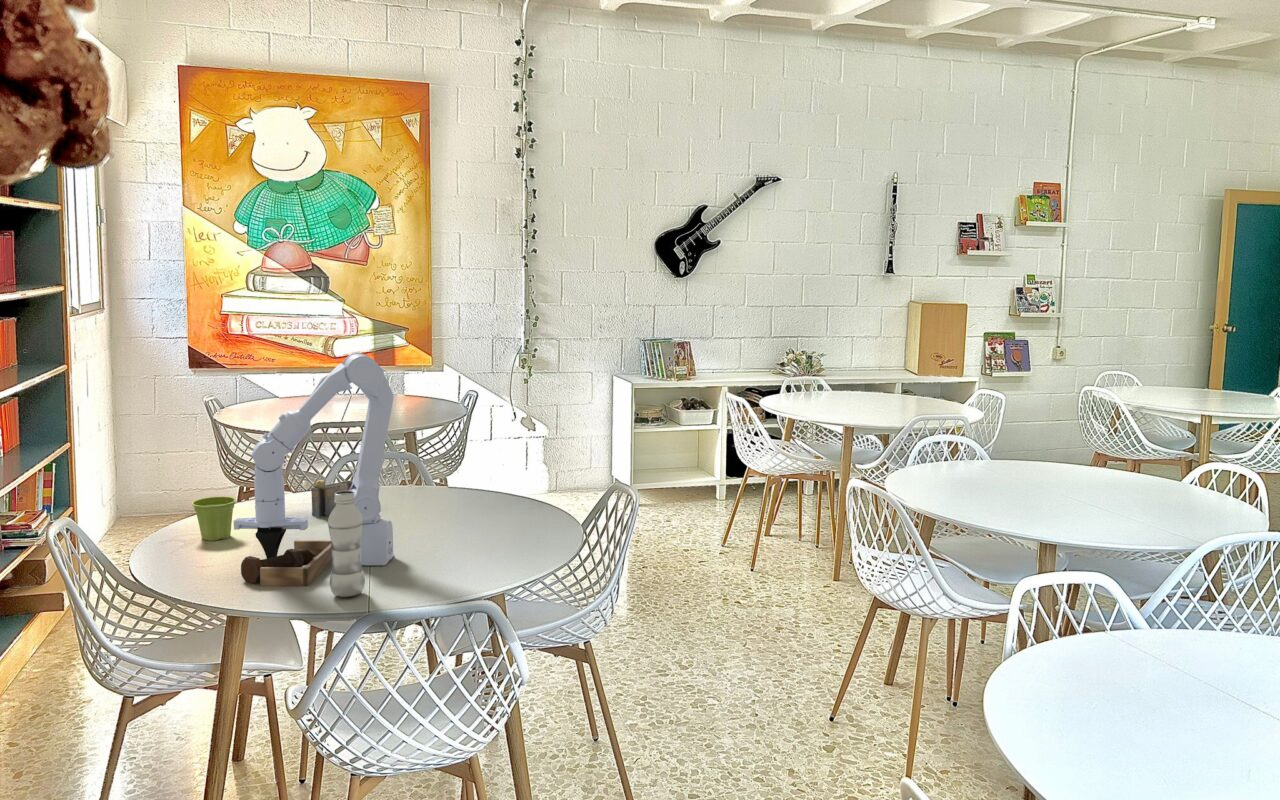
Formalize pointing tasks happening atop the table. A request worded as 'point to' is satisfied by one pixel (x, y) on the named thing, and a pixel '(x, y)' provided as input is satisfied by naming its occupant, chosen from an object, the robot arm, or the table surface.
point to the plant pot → (214, 516)
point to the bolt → (274, 563)
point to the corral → (300, 574)
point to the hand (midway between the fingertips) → (272, 563)
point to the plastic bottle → (346, 546)
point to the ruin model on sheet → (326, 496)
